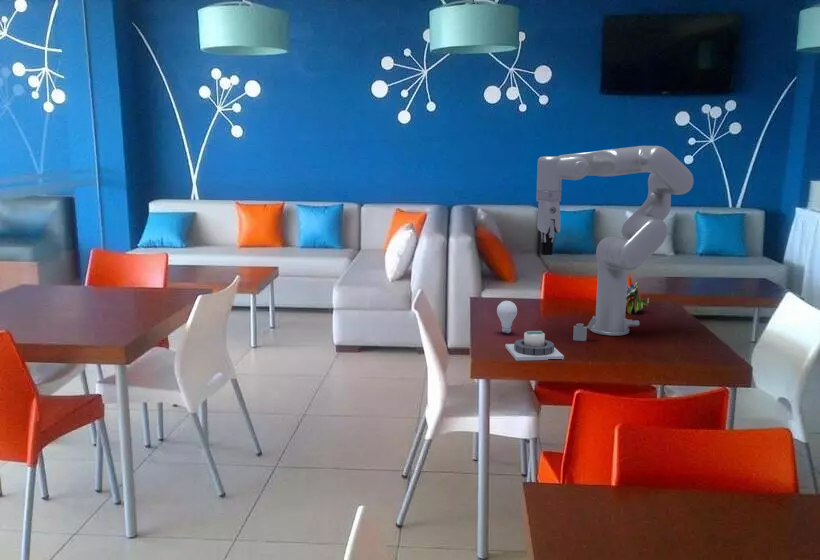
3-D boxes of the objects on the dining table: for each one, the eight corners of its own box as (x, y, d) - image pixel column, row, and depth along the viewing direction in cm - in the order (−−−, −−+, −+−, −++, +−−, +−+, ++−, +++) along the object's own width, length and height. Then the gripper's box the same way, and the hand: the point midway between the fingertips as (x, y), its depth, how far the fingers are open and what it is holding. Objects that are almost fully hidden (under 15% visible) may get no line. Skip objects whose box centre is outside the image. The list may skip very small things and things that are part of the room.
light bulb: (515, 336, 237) (517, 303, 235) (495, 335, 238) (496, 302, 236) (517, 331, 244) (518, 299, 241) (497, 330, 245) (497, 298, 243)
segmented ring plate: (549, 346, 226) (550, 336, 226) (563, 359, 213) (564, 349, 212) (505, 347, 225) (505, 337, 224) (516, 360, 211) (516, 350, 211)
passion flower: (617, 325, 277) (610, 293, 283) (650, 320, 275) (643, 288, 281) (618, 313, 266) (611, 279, 272) (653, 308, 264) (645, 274, 270)
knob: (541, 346, 222) (541, 328, 221) (546, 352, 216) (547, 333, 215) (521, 347, 221) (522, 329, 220) (526, 353, 215) (527, 334, 214)
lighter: (572, 340, 234) (574, 315, 232) (573, 338, 235) (574, 314, 234) (595, 341, 232) (597, 317, 230) (595, 340, 233) (597, 315, 232)
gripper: (567, 198, 222) (565, 258, 225) (553, 194, 236) (551, 250, 240) (543, 198, 221) (541, 258, 224) (530, 194, 236) (528, 251, 239)
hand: (546, 254), depth 232 cm, fingers closed
